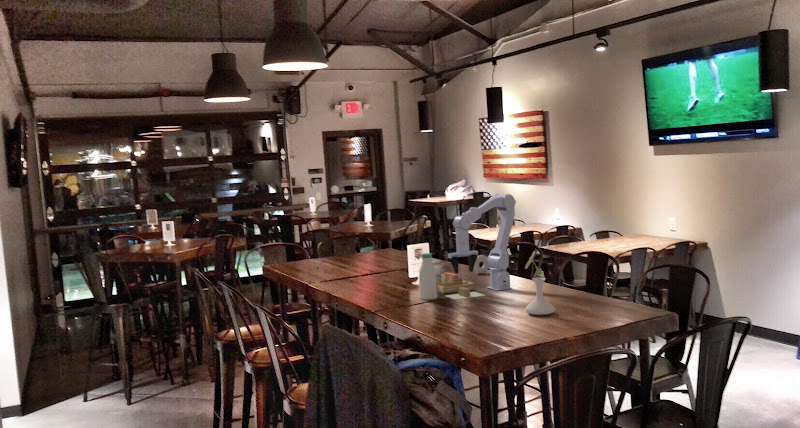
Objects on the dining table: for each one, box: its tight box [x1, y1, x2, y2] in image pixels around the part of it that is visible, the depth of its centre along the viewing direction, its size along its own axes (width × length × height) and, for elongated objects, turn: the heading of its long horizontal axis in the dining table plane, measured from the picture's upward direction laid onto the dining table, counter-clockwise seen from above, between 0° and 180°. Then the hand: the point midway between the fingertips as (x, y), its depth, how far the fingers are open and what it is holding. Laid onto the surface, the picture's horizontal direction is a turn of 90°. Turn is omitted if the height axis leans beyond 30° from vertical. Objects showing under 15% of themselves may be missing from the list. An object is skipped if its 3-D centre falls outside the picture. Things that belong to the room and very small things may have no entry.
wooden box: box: [437, 279, 475, 295], centre depth 317 cm, size 11×16×3 cm
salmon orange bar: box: [443, 271, 459, 278], centre depth 331 cm, size 10×2×2 cm, turn 24°
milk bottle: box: [418, 252, 438, 301], centre depth 300 cm, size 8×8×20 cm
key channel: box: [440, 273, 463, 283], centre depth 330 cm, size 13×5×5 cm, turn 24°
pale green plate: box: [445, 287, 487, 301], centre depth 303 cm, size 10×15×4 cm
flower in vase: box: [524, 250, 556, 316], centre depth 260 cm, size 13×11×25 cm
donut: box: [473, 254, 490, 275], centre depth 359 cm, size 10×4×10 cm, turn 116°
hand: (463, 272), depth 307 cm, fingers open, 7 cm apart
